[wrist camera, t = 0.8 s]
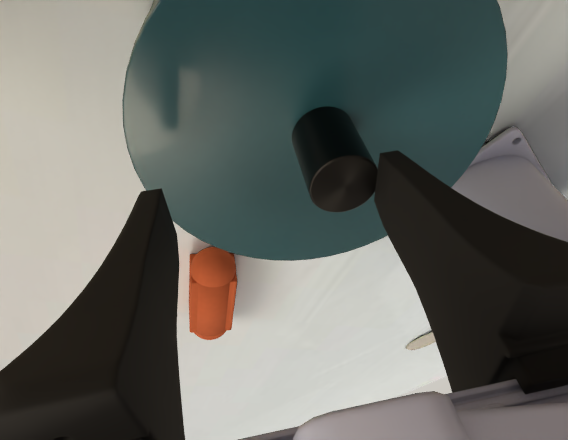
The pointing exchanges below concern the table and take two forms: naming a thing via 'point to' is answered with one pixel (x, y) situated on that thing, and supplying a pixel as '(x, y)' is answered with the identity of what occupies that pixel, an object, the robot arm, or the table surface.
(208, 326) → the hot dog
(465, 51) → the pot lid
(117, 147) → the table surface
